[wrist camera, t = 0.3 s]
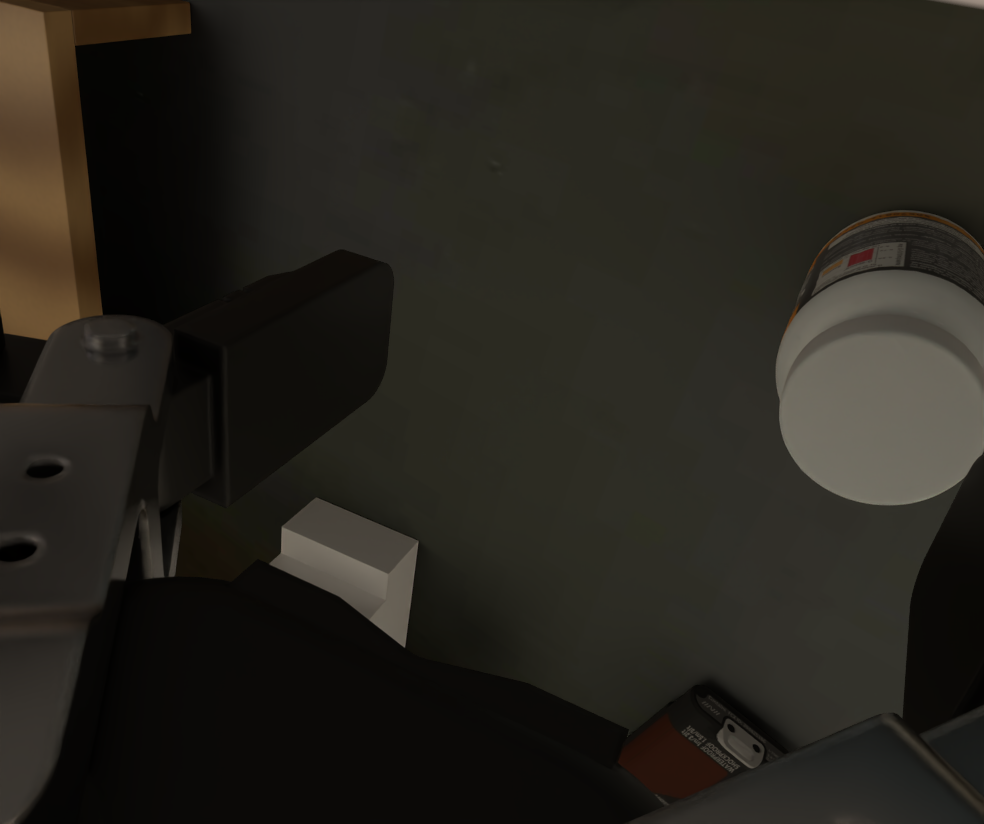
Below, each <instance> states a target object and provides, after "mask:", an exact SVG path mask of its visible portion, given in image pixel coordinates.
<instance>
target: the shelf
mask: <svg viewBox="0 0 984 824" xmlns="http://www.w3.org/2000/svg"><path fill="white" fill-rule="evenodd" d="M190 33H191V14H190V3H189V2H186V1H182V0H0V312H1V318H2V324H3V330H4V333H6V334H12V335H18V336H24V337H31V338H37V339H43V340H48V338H49V336H50V335H51V333H52V332H54V331H55V330H56V329H57V328H59V327H61V326H62V325H64V324H67V323H69V322H71V321H74V320H78V319H81V318H86V317H91V316H98V315H103V313H102V304H101V294H100V284H99V275H98V265H97V256H96V246H95V236H94V227H93V217H92V207H91V198H90V188H89V179H88V169H87V159H86V150H85V140H84V131H83V121H82V111H81V102H80V92H79V83H78V73H77V63H76V54H75V46H79V45H88V44H97V43H107V42H116V41H126V40H135V39H145V38H154V37H163V36H173V35H182V34H190Z"/></svg>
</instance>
